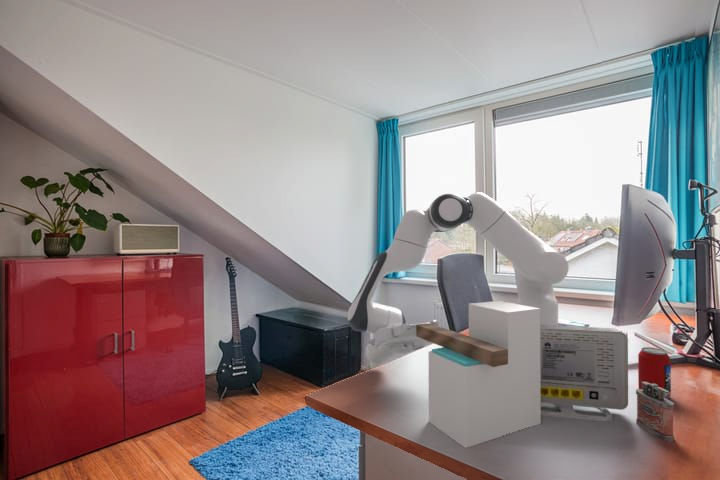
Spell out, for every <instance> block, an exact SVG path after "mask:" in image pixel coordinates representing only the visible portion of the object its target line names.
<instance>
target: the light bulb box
mask: <svg viewBox="0 0 720 480" xmlns="http://www.w3.org/2000/svg"><path fill="white" fill-rule="evenodd" d="M558 326H576V327H590V323H589V322H588V323H587V322H580V321H573V320H566V319H561V318H560V319H559V318H558Z"/></svg>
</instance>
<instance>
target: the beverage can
mask: <svg viewBox="0 0 720 480" xmlns="http://www.w3.org/2000/svg"><path fill="white" fill-rule="evenodd" d="M637 357H638V360H637V361H638V362H637V365H638V366H637V368H638V369H637V370H638V371H637V373H638V375H637V376H638V377H637V379H638V381H637V383H638V389H642V382H648V383H650V384H657V385H658V386H659V387H660V388H663V389H665V390H667V391H669V392H670V397H671V396H672V393H671V392H672V388H671V387H672V373H671V371H672V366H671V365H672V361H671V360H672V359H671V356H669V354H668V352H667V350H664V349H661V348H657V347H647V346H645V347H642V348H641V349H640V351H639V353H638V355H637ZM664 398H666V397H664ZM666 399H667V398H666Z"/></svg>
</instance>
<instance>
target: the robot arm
mask: <svg viewBox="0 0 720 480" xmlns="http://www.w3.org/2000/svg"><path fill="white" fill-rule="evenodd" d="M463 224H466V225H468V226H469V227H471V228H473V229H474V231H476V233H477V234H478V235H480V237H481V238H482V239H484V240H485V241H486V243H488V245H489V246H491V248H493V249H494V250H495V251H496V252H497V253H498V254H500V255H501V256H503V257H504V258H505V259H506V260H508V261H509V262H510V263H511V264H512V268H513V270H514V277H515V284H516V285H515V286H516V290H517V291H516V292H517V297H518V304H519V305H524V306H529V307H535V308H540V325H553V326H558V320H559V303H558V300H557V298H556V295H555V291H554V287H553V285H555V284H558V283H559V284H560V283H561V282H562V281H563V280H565V279H566V277H567V276H568V273H569V264H568V261H567V259H566V257H565V256H564V255H562V254H561V253H560V252H558V251H557V250H555V249H554V248H553V247H552V246H550V245H549V244H547V243H546V242H545V241H544V240H543V239H541V238H540V237H539V236H537V235H536V234H534V233H533V232H531V231H530V230H528V229H527V227H525V226H524V225H523V224H522V223H520V221H519V220H517V218H515V217H514V216H513V215H512V214H511V213H510V212H509V211H508V210H507V209H505V207H504V206H502V205H501V204H500V203H498V202H497V201H496V200H495V199H494V198H492V197H491V196H488V195H487V194H486V193H483V192H480V191H479V192H474V193H471V194H469V195H468V196H467V197H466V196H461V195H458V194H455V193H454V194H453V193H445V194H441V195H439V196H438V197H436V198H435V199H434V200H433V201H432V202H431V204H430V205H429V207H428V208H427V209H426V210H423V211H422V210H421V209H409V210H407V211H406V212H405V213H404V214H403V216H402V217H401V219H400V221H399V223H398V225H397V227H396V231H395V233H394V235H393V240H392V242H391V244H390V245H389V247H388V248H387V249H386V250H385V251H383V252H380V253H378V255H377V257H376V258H375V259H374V261H373V263H372V265H371V267H370V269H369V270H368V273H367V274H366V277H365V279H364V280H363V283H362V285H361V287H360V288H359V291H358V293H357V295H356V296H355V298H354V299H353V301H352V303H351V304H350V306H349V308H348V311H347V315H346V320H347V323H348V325H349V326H350V328H351V329H352V330H353V331H354V332H362V333H370V334H372V338H371V339H370V340H369V341H368V344H367V345H366V348H365V355H366V357H367V359H368V360H369V361H370V363H372V364H375V365H377V366H382V365H387V364H389V363H391V362H393V361H395V360H396V359H398V358H399V359H400V358H401V357H402V356H404V355H407V354H409V353H411V352H413V351H416V350H420V349H423V348H426V346H427V344H428V343H430V342H429V341H427V340H424V339H422V338H419V337H417V336H416V325H419V324H427V323H430V324H433V325H436V326H439V327H442V325H441V323H440V321H439V320H438V319H434V320H432V321H431V320H430V321H429V322H420V323H412V324H411V323H410V324H409V323H407V322H406V321H407V320H406V318H405V315H404V313H403V311H402V310H401V309H400V308H399V307H394V306H390V305H387V304H382V303H378V302H375V301H372V300H373V298H374V295H375V294H376V292H377V289H378V287H379V285H380V284H381V281H382V279H383V278H385V277H386V276H387V275H389V274H392V273H400V272H407V271H411V270H413V269H416V268H417V267H418V266H420V265H421V264H422V262H423V260H424V258H425V255H426V253H427V252H426V251H427V249H428V244H429V241H430V239H431V236H432V235H433V234H434V233H445V232H449V231H453V230H455V229H457V228H458V227H459V226H460V225H463Z"/></svg>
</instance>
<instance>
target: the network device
mask: <svg viewBox="0 0 720 480" xmlns="http://www.w3.org/2000/svg"><path fill="white" fill-rule="evenodd" d="M540 401H541V404H551V405H556V407H557V409H558V410H559V411H560V412H558V411H557V412H556V411H547V410H546V411H545V410H541V416H546V417H555V418H556V417H557V418H558V417H559V418H568V419H578V420H589V421H598V422H599V421H601V422H610V421H613V420H614V419H613V418H614V417H613V414H612V412H610V411H609V409H611V410H619V411H620V410H621V411H622V410H623V411H624V410H626V409H627V407H628V406H629V338H628V335H627V334H626V333H624V332H623V331H620V330H618V329H617V328H616V327H615V328H614V327H595V326H592V327H591V326H589V327H576V326H553V325H540ZM574 406H575V407H587V408H597V409H598V410H599V411H600V412H601V413H602V414H603V415H604V416H599V415H589V414H582V413H578V412H576V411H575V410H574Z"/></svg>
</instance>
